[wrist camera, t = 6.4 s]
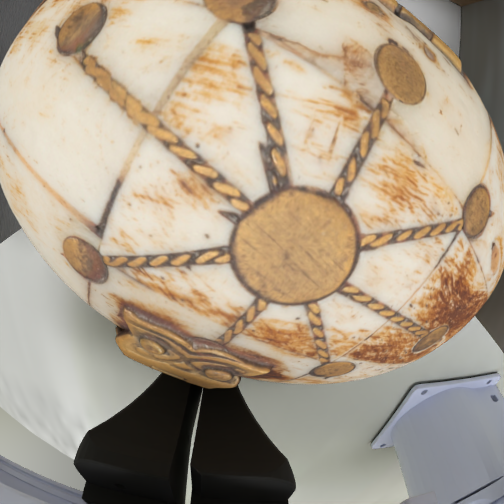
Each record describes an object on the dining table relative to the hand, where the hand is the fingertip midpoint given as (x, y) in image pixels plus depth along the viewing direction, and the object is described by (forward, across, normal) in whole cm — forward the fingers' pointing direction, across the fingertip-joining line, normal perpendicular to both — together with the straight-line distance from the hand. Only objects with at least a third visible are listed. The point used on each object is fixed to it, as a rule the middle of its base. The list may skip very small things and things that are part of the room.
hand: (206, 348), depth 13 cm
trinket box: (+3, -1, -8) cm, 8 cm away
